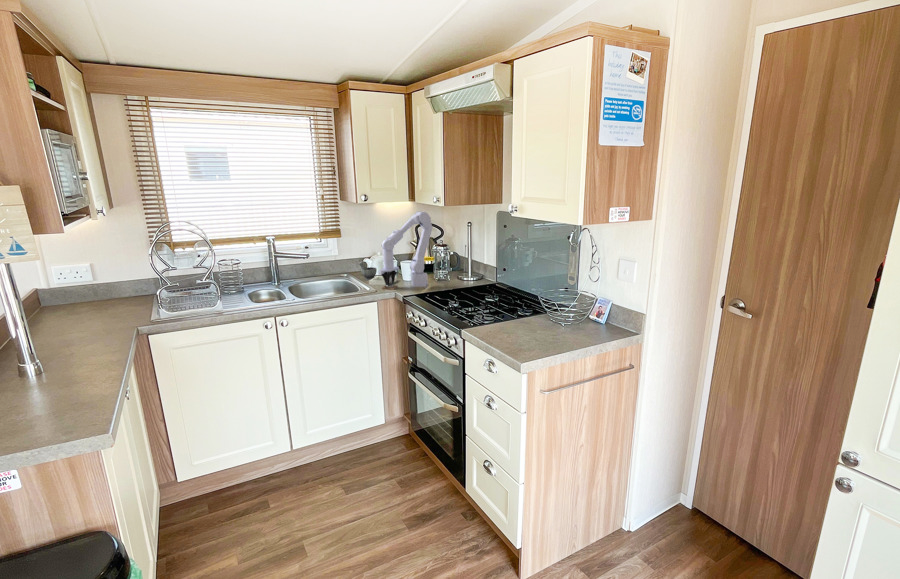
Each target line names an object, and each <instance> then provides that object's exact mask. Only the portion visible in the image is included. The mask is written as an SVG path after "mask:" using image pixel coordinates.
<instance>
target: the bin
mask: <svg viewBox="0 0 900 579" xmlns="http://www.w3.org/2000/svg"><path fill="white" fill-rule="evenodd" d="M397 281H398V276H395V279H394V283H395V282H397ZM368 285H370V286H371V285H372V286H373V285H376V286H377V285H378V286H385V285H386V284H385V281H384V278H383V277H382V275H379V276H378V275H375V276H374V278H373V279H371V280H368Z"/></svg>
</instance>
